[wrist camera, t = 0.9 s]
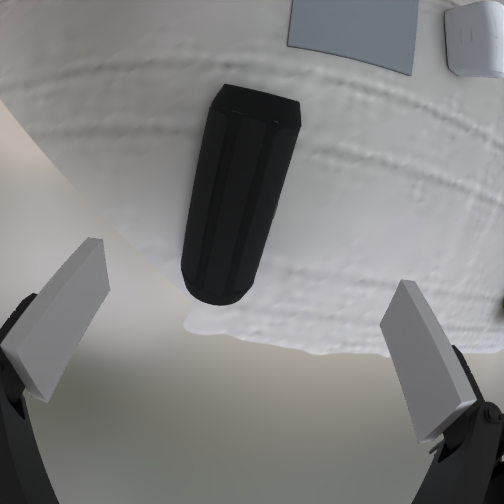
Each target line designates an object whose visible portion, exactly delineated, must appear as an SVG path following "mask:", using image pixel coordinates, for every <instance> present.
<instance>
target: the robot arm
mask: <svg viewBox="0 0 504 504" xmlns="http://www.w3.org/2000/svg"><path fill="white" fill-rule="evenodd" d="M109 291H110V287H109V280H108V274H107V268H106V261H105V254H104V246H103V240H102V239H96V238H89V237H88V238H87V239H86V240H85V241H84V242H83V243H82V245H81V246H80V247H79V248H78V249H77V250H76V251H75V252H74V253H73V254H72V255H71V256H70V257H69V259H68V260H67V261H66V262H65V263H64V264H63V265H62V266H61V268H60V269H59V270H58V271H57V272H56V273H55V274H54V276H53V277H52V278H51V279H50V281H49V282H48V283H47V284H46V285H45V286H44V287H43V289H42V290H41V291H40V293H39V294H35V293H32V294H31V295H29V296H28V297H26V298H25V299H24V300H22V302H21V303H20V304H19V306H18V307H17V308H16V311H14V312H13V313H12V314H11V315H10V318H8V319H7V321H6V322H5V323H4V325H3V326H2V328H1V329H0V504H59V502H58V500H57V497H56V495H55V493H54V490H53V488H52V486H51V483H50V480H49V478H48V475H47V473H46V470H45V467H44V464H43V462H42V459H41V456H40V453H39V450H38V447H37V444H36V440H35V437H34V434H33V430H32V426H31V422H30V418H29V415H28V410H27V406H26V401H25V398H24V396H23V394H22V393H23V390H24V389H25V387H26V389H27V390H28V391H29V393H30V395H31V396H32V397H35V398H37V399H39V400H41V401H44V402H46V403H48V402H49V400H50V398H51V395H52V393H53V391H54V389H55V387H56V385H57V383H58V381H59V379H60V377H61V375H62V373H63V372H64V369H65V368H66V366H67V364H68V362H69V360H70V358H71V356H72V355H73V353H74V351H75V349H76V347H77V345H78V343H79V342H80V340H81V338H82V336H83V335H84V333H85V331H86V330H87V327H88V326H89V324H90V323H91V321H92V319H93V317H94V316H95V314H96V312H97V311H98V309H99V307H100V306H101V304H102V302H103V301H104V299H105V298H106V296H107V294H108V293H109ZM380 327H381V330H382V333H383V335H384V338H385V341H386V343H387V346H388V349H389V352H390V355H391V357H392V360H393V363H394V366H395V369H396V372H397V375H398V378H399V381H400V384H401V387H402V390H403V393H404V396H405V400H406V403H407V406H408V409H409V413H410V416H411V419H412V423H413V427H414V430H415V434H416V437H417V441H418V443H423V442H428V441H433V440H435V439H436V438H437V437H438V436H439V435H440V434H441V433H443V435H444V439H443V440H442V441H441V442H439V443H438V444H437V445H436V446H435V447H433V448H432V449H431V450H430V452H429V453H430V454H431V453H433V452H434V451H435V450H436V449H437V452H436V454H434V459H433V461H432V463H431V465H430V468H429V470H428V472H427V474H426V476H425V478H424V480H423V482H422V484H421V487H420V488H419V490H418V492H417V494H416V496H415V498H414V500H413V502H412V504H504V461H503V462H502V456H503V455H504V414H502V413H501V411H500V409H499V408H498V406H496V405H495V404H494V403H491V402H485V400H484V398H483V396H482V394H481V392H480V390H479V387H478V385H477V383H476V381H475V379H474V377H473V375H472V373H471V371H470V368H469V366H467V363H466V360H465V359H464V357H463V355H462V353H461V352H460V351H459V350H458V349H457V348H456V347H455V345H451V344H450V342H449V340H448V338H447V337H446V335H445V333H444V331H443V329H442V327H441V325H440V324H439V322H438V320H437V318H436V316H435V315H434V313H433V311H432V309H431V308H430V306H429V304H428V303H427V301H426V299H425V298H424V296H423V294H422V292H421V291H420V289H419V288H418V286H417V284H416V283H415V281H409V280H401V281H400V283H399V285H398V288H397V290H396V292H395V294H394V296H393V298H392V301H391V303H390V305H389V307H388V309H387V311H386V313H385V315H384V317H383V319H382V321H381V323H380Z"/></svg>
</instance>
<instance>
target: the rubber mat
mask: <svg viewBox="0 0 504 504" xmlns="http://www.w3.org/2000/svg"><path fill="white" fill-rule="evenodd" d="M417 14H418V0H293V5H292V13H291V21H290V29H289V37H288V45H287V46H289V47H295V48H302V49H307V50H313V51H318V52H323V53H328V54H333V55H338V56H342V57H346V58H350V59H354V60H358V61H362V62H366V63H369V64H373V65H376V66H380V67H383V68H387V69H390V70H393V71H396V72H399V73H402V74H405V75H408V76H411V75H412V67H413V59H414V50H415V40H416V29H417Z"/></svg>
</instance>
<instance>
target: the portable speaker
mask: <svg viewBox="0 0 504 504" xmlns="http://www.w3.org/2000/svg"><path fill="white" fill-rule="evenodd" d="M300 127H301V112H300V103H299V102H298V101H294V100H291V99H287V98H284V97H280V96H276V95H272V94H269V93H265V92H260V91H256V90H252V89H248V88H243V87H238V86H234V85H229V84H224V85H223V87H222V88H221V90H220V91H219V93H218V94H217V96H216V97H215V99H214V100H213V102H212V104H211V107H210V109H209V113H208V117H207V122H206V126H205V131H204V136H203V140H202V145H201V150H200V155H199V160H198V165H197V170H196V175H195V181H194V186H193V191H192V197H191V203H190V208H189V214H188V220H187V227H186V233H185V239H184V246H183V253H182V259H181V271H182V275H183V278H184V282H185V285H186V288H187V289H188V291H189V292H190V294H191V295H192V296H194V297H195V298H196V299H198V300H200V301H202V302H204V303H207V304H211V305H218V306H223V305H230V304H233V303H236V302H237V301H239V300H240V299H241V298H242V297H243V296H244V295H245V294H246V292H247V291H248V290H249V289H250V288H251V287H252V285H253V283H254V279H255V275H256V272H257V269H258V266H259V262H260V259H261V256H262V253H263V249H264V246H265V243H266V240H267V236H268V233H269V230H270V227H271V223H272V220H273V218H274V215H275V212H276V209H277V206H278V200H279V197H280V194H281V190H282V187H283V184H284V180H285V177H286V174H287V170H288V167H289V164H290V160H291V157H292V154H293V150H294V147H295V144H296V140H297V137H298V134H299V130H300Z"/></svg>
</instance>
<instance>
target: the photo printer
mask: <svg viewBox="0 0 504 504" xmlns="http://www.w3.org/2000/svg"><path fill="white" fill-rule="evenodd" d="M445 31H446V44H447V57H448V66H449V69H450V70H451V71H452V72H453V73H454V74H456V75H458V76H471V77H488V78H500V79H503V78H504V5H501V4H500V3H499V2H495V1H480V2H476V3H472V4H468V5H464V6H461V7H457V8H454V9H451V10H448V11H446V12H445Z"/></svg>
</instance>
